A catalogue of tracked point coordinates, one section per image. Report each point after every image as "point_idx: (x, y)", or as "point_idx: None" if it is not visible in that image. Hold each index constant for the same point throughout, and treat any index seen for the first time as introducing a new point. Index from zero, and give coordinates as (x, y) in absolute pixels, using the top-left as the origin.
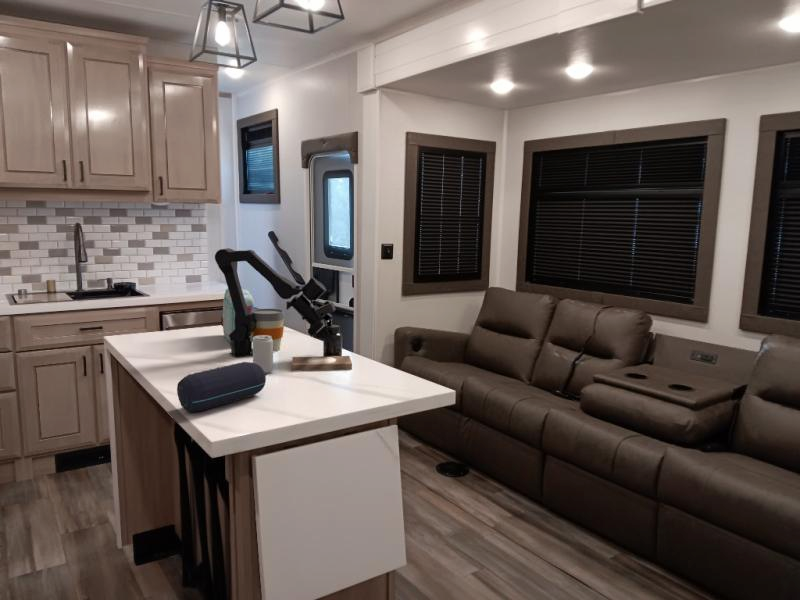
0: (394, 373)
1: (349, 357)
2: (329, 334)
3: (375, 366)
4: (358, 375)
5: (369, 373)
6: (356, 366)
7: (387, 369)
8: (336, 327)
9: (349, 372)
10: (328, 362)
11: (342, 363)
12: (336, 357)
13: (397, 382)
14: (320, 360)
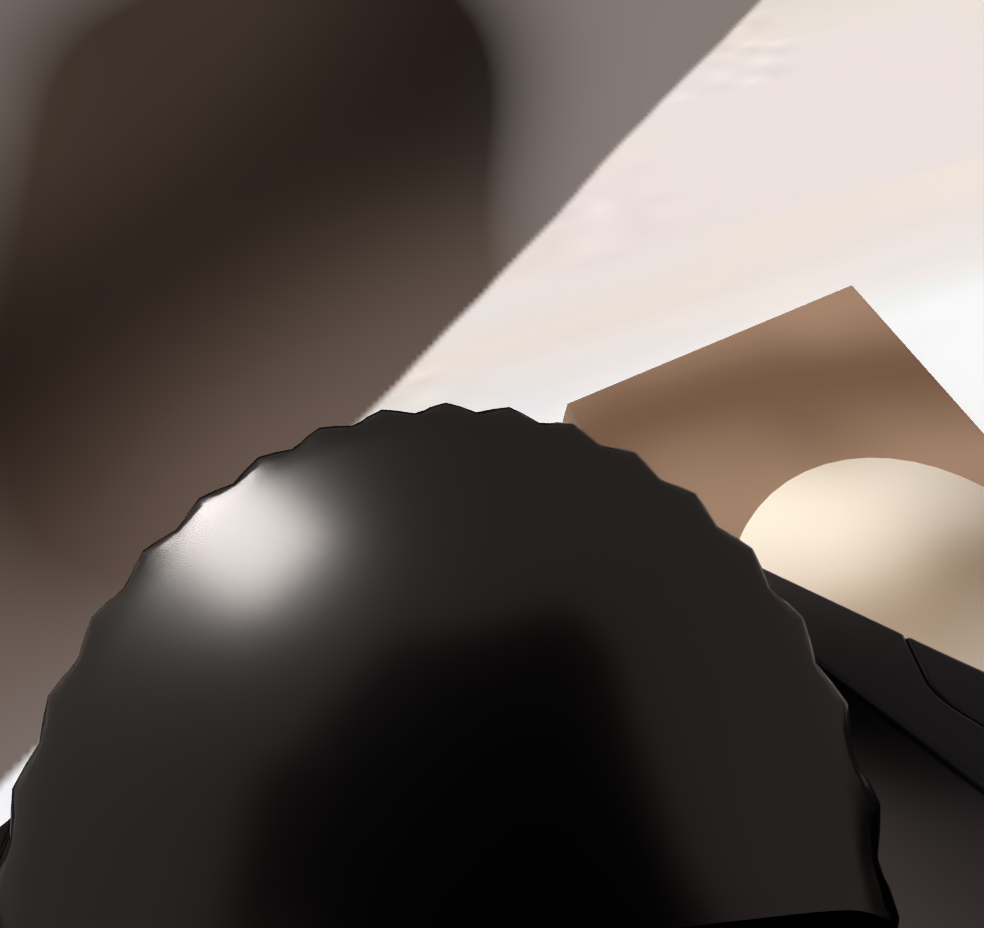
0: (748, 72)
1: (635, 380)
2: (939, 658)
3: (632, 205)
4: (943, 230)
5: (842, 185)
6: (701, 320)
7: (674, 125)
8: (642, 470)
9: (909, 310)
10: (968, 511)
11: (902, 363)
12: None
13: (930, 16)
14: (950, 644)
